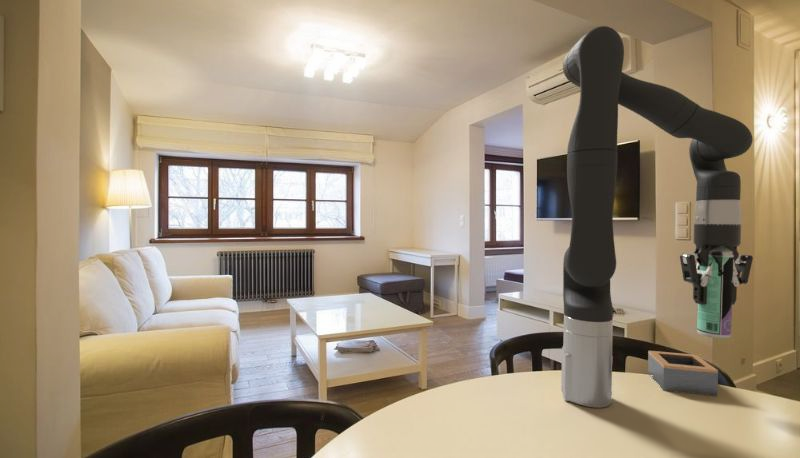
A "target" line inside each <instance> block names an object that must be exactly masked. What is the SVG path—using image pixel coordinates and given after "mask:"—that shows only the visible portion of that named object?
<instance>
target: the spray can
mask: <svg viewBox="0 0 800 458" xmlns="http://www.w3.org/2000/svg"><path fill="white" fill-rule="evenodd" d="M709 252H710V254H709V261H708V266H709V264H711V263H712V262H713V261H714V260H715V262H713V268H712V270H711V271H712V276H711V277H709V280H708V282H707V285H706V286H705V287H707V303H706V304H705V305H701V304H697V321H696V322H697V323H696V324H697V325H696V326H697V327H696V331H697V332H696V333H697V334H699V335H701V336H702V337H703V336H704V337H708V338H714V339H721V340H722V339H724V340H725V339H726V340H728V339H731V338H732V322H733V321H732V319H733V318H732V317H733V316H732V315H733V305H732V290H733V257H734V255H733V254H732V253H733V251H731V250H729V249H728V248H725V247H724V246H719V247H716V248H714V249H712V250H711V251H709ZM708 266H707V267H705V266H700V265H699V270H701V271H706V270H707V268H708ZM701 278H702V275H700V280H701Z"/></svg>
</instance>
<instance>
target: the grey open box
mask: <svg viewBox="0 0 800 458" xmlns="http://www.w3.org/2000/svg"><path fill="white" fill-rule="evenodd" d="M647 354H648V355H647V356H648V357H647V360H648V361H647V374H648V375H649V376H650V375H653V376H652V377H653V378H654V379H653V378H652V377H651V378H652V379H653V381H654V382H655V381H656V382H657V383H658V384H659V385H660V386H659V385H658V384H657V383H656V382H655V383H656V384H657V385H658V386H659V388H661V390H662V391H665V390H668V391H667V392H673V391H677V392H676V393H682V392H683V394H684V393H685V394H693V395H700V396H701V395H702V396H709V397H718V392H719V391H718V390H719V389H718V388H719V387H718V386H719V385H718V384H719V382H718V381H719V369H717V368H715V366H713V365H711V364H710V363H708V362H707V361H706V360H705V359H703V358H701V356H700V355H697V354H691V353H690V354H689V353H679V352H669V351H668V352H667V351H658V350H648V351H647Z"/></svg>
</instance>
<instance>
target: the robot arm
mask: <svg viewBox="0 0 800 458" xmlns="http://www.w3.org/2000/svg"><path fill="white" fill-rule="evenodd" d="M624 46H625V45H624V43H623V39H622V37H621V35H620V34H619V32H618V31H617V30H615V29H614V28H612V27H610V26H608V25H602V26H597V27H595V28H594V27H593V28H592V29H590V30H589V31H587V33H585V34H584V35H583V36H582V37H580V39H579V40H578V41H577V42H576V43H575V44H574V45H573V46H572V47H571V49H570V50H568V52H567V53H566V54H565V56H564V59H563V63H562V72H563V75H564V77H566V79H567V80H568V81H569V82H570V83H571V84H573V85H575V86H576V87H578V88H579V89H580V92H579V93H580V95H579V103H578V108H577V112H576V114H575V115H576V116H575V118H574V121H573V123H572V128H571V130H570V131H571V132H570V135H569V139H568V144H567V152H566V153H567V154H566V156H567V158H566V178H567V179H566V180H567V189H568V197H569V202H570V209H571V228H570V229H571V231H570V240H569V247H568V248H567V249H566V251H565V252H564V255H563V268H562V269H563V273H562V276H563V282H562V285H563V286H562V287H563V289H562V293H563V294H562V296H563V299H562V300H563V342H562V344H563V346H561V377H560V378H561V382H560V383H561V385H560V388H561V392H562V395H563V398H564V401H565V402H567V401H568V402H571V403H574V404H577V405H580V406H583V407H589V408H599V409H600V408H607V407H608V406H610V405H611V404H612V395H613V390H612V389H613V388H612V387H613V386H612V385H613V327H614V325H613V320H614V319H613V317H614V316H613V315H614V308H613V303H612V295H611V279H612V277H613V276H614V275H615V272H616V268H617V255H616V249H615V237H614V236H615V235H614V225H613V224H614V223H613V220H614V217H613V215H614V206H615V199H616V186H617V174H618V127H619V126H618V124H619V105H620V106H621V107H623V108H626V109H628V110H630V111H631V112H633V113H635V114H637V115H639V116H640V117H642V118H644V119H645V120H647V121H649V122H650V123H652V124H653V125H654V126H657V127H658V128H659V129H661V130H662V131H664V132H666V133H667V134H668V135H671V136H672V137H674V138H677V139H691V142H690V144H689V148H688V149H689V152H688V154H689V160H690V163H691V167H692V171H693V174H694V177H695V181H696V193H695V195H696V196H695V198H696V200H695V206H694V207H695V208H694V211H693V212H694V214H693V215H694V216H693V217H694V219H693V220H694V221H693V244H695V250H694V251H693V253H681V254H680V255H679V258H680V259H679V260H680V266H681V272H682V273H681V274H682V278H683V281H684V282H685V283H686V282H687V283H689V284H691V285H692V286H693V288H692V291H693V292H692V293H693V294H692V299H693V301H694V303H696V304H697V305H698V304H701V305H705V304H706V303H707V287H705V286H706V285H707V282H708V280H709V277H711V276H712V271H711V270H712V268H713V262H715V260H714V261H713V262H712V263H711V264H709V266H708V261H709V254H710V252H709V251H711V250H712V249H714V248H716V247H719V246H724V247H725V248H728V249H729V250H731V251H733V253H732V254H733V255H734V257H733V290H732V306H733V305H735V303H736V301H737V293H738V292H737V291H738V289H737V288H738V287H739V286H740V285H742V284H743V285H746V284H747V283H749V277H750V274H751V273H750V272H751V268H752V264H753V260H754V259H753V256H752V255H751V254H741V253H739V252H738V246H740V245H741V244H742V243H741V240H742V238H741V237H742V207H741V191H742V190H741V176H740V174H739V173H738V172H735V171H732V170H731V171H730V170H728V169H727V166H726V164H725V163H726V162H725V160H728V159H734V158H736V157H739V156H742V155H744V154H745V153H747V151H749V150H750V149H751V146H752V144H753V139H754V138H753V135H752V132H751V130H750V128H749V127H747V126H746V125H745V124H744V123H743V122H741V121H740V120H739V119H736V118H734V117H731V116H728V115H726V114H723V113H721V112H718V111H715V110H714V111H713V110H712V109H706V108H704V107H703V106H701V105H700V104H698V103H696V102H695V101H693V100H692V99H690V98H688V96H685V95H684V94H682V93H680V92H679V91H677V90H674V89H673V88H671V87H667V86H665V85H662V84H658V83H657V84H656V83H655V82H654V83H653V82H650V81H645V80H642V79H639V78H636V77H633V76H631V75H629V74H626V73H625V72H623V66H624V58H625V48H624ZM699 265H700V266H705V267H707V266H708V268H707V270H706V271H701V270H699ZM700 275H702V278H701V280H700Z"/></svg>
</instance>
